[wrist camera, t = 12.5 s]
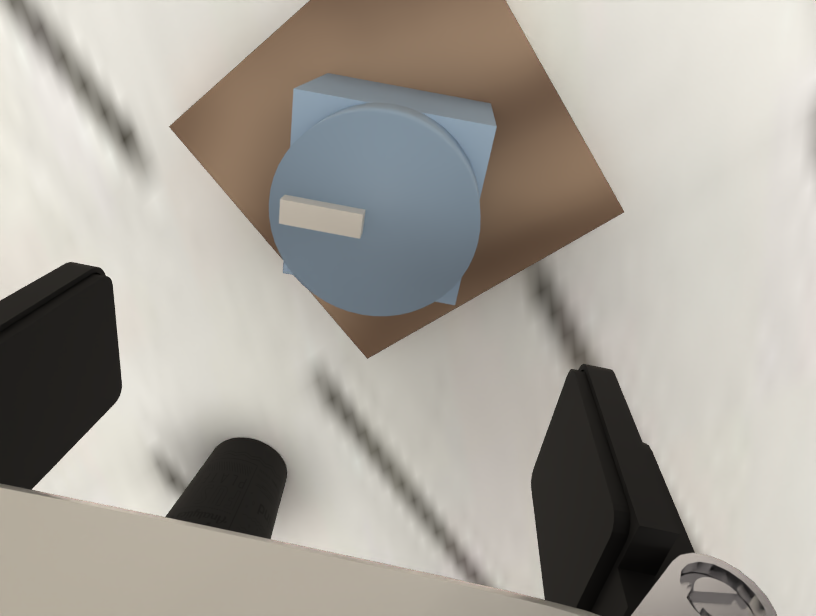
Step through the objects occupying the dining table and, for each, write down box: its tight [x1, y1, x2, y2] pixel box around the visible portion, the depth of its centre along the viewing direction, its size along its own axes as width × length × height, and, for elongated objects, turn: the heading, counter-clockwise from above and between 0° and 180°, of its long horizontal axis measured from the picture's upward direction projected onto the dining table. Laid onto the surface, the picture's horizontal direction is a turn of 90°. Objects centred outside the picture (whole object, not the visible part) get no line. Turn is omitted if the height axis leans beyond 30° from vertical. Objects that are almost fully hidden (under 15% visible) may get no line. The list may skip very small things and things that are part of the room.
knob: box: [269, 73, 497, 316], centre depth 20 cm, size 7×7×7 cm
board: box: [169, 0, 624, 359], centre depth 24 cm, size 14×14×1 cm
